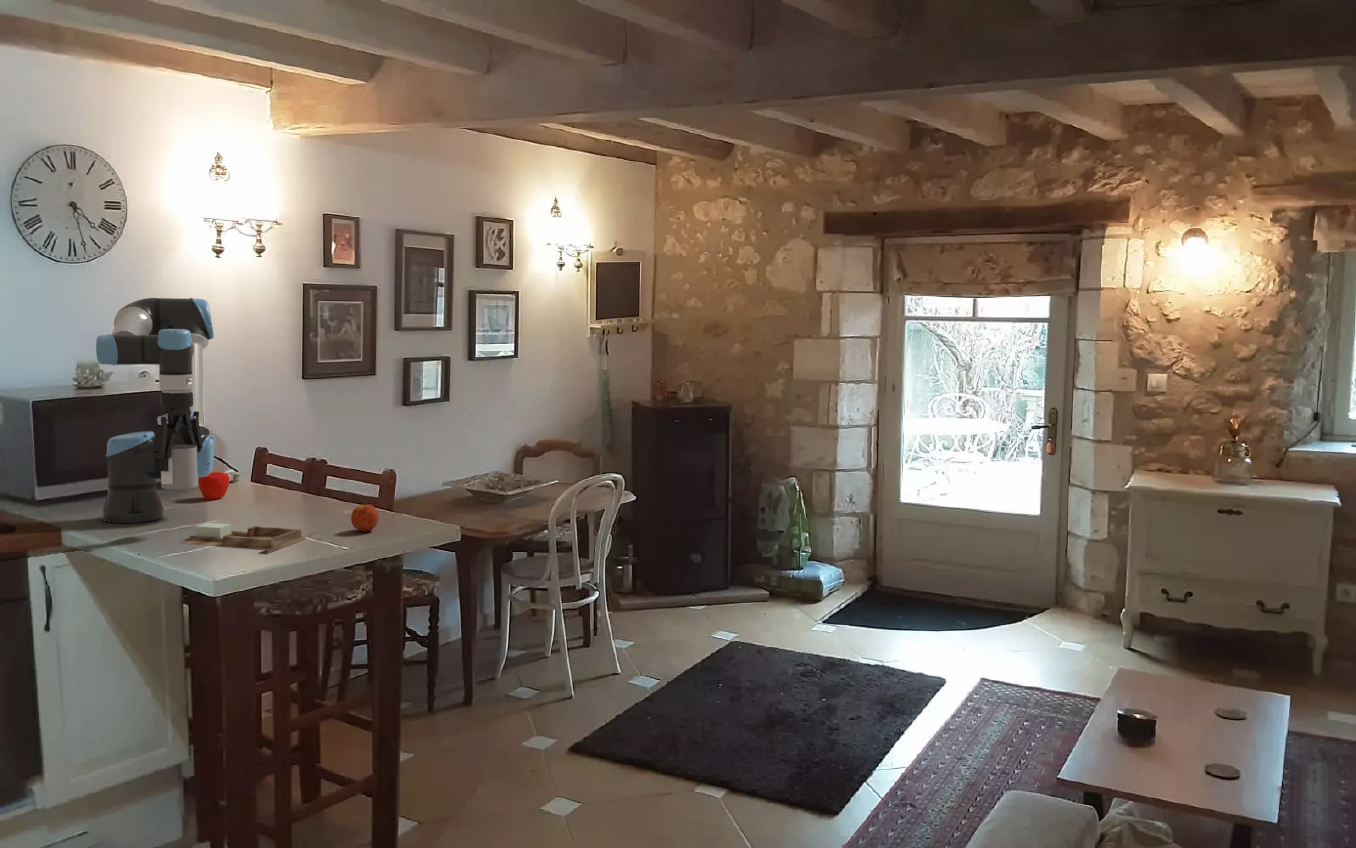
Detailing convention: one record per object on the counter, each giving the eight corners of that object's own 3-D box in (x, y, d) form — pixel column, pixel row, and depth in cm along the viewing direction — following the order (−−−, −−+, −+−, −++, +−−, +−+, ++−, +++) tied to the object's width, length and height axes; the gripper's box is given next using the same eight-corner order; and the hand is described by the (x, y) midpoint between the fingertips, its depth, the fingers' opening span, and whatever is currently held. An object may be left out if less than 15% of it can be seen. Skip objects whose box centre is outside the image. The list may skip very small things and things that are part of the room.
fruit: (350, 529, 287) (349, 499, 286) (377, 527, 290) (376, 498, 289) (352, 534, 281) (352, 504, 280) (380, 532, 283) (379, 502, 283)
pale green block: (195, 538, 269) (194, 526, 268) (206, 534, 273) (206, 522, 273) (220, 540, 267) (219, 528, 267) (231, 536, 272) (231, 524, 271)
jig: (179, 547, 263) (178, 535, 263) (220, 533, 279) (220, 522, 279) (267, 553, 258) (267, 541, 258) (304, 539, 274) (304, 528, 273)
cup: (174, 490, 268) (172, 450, 267) (154, 486, 272) (152, 447, 271) (204, 485, 275) (203, 446, 274) (185, 482, 279) (183, 443, 278)
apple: (222, 501, 322) (221, 475, 321) (192, 501, 322) (192, 475, 321) (235, 496, 331) (234, 471, 330) (206, 495, 331) (205, 470, 330)
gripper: (160, 395, 259) (164, 489, 262) (216, 388, 280) (219, 475, 283) (133, 394, 261) (137, 487, 264) (191, 387, 282) (193, 473, 284)
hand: (179, 480), depth 273 cm, fingers closed on cup, 8 cm apart
